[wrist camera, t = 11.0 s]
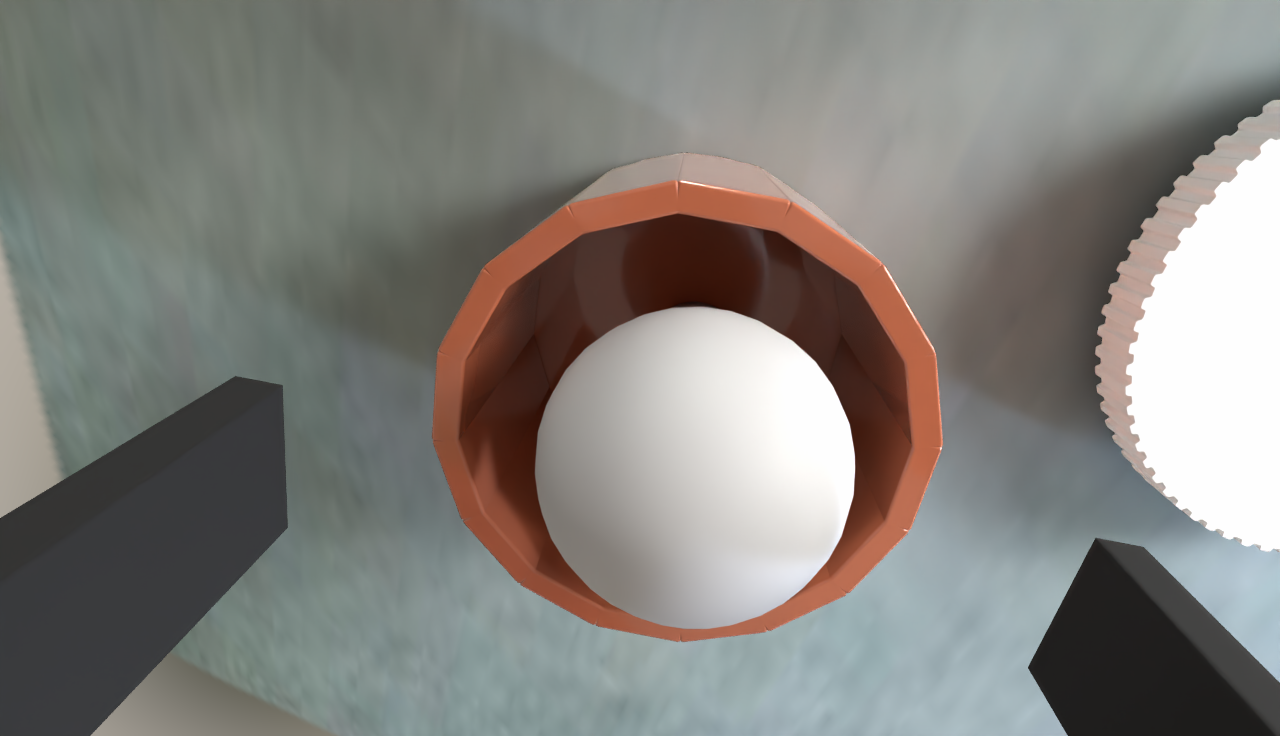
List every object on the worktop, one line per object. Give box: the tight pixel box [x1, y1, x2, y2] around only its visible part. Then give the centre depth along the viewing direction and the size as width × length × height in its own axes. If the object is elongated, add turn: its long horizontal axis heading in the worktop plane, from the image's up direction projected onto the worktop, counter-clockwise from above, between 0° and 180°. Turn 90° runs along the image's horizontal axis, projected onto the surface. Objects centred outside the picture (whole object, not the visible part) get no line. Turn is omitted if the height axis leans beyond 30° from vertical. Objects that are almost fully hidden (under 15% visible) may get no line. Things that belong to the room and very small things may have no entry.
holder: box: [432, 152, 943, 642], centre depth 18 cm, size 10×10×8 cm
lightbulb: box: [535, 301, 855, 629], centre depth 15 cm, size 6×6×11 cm
